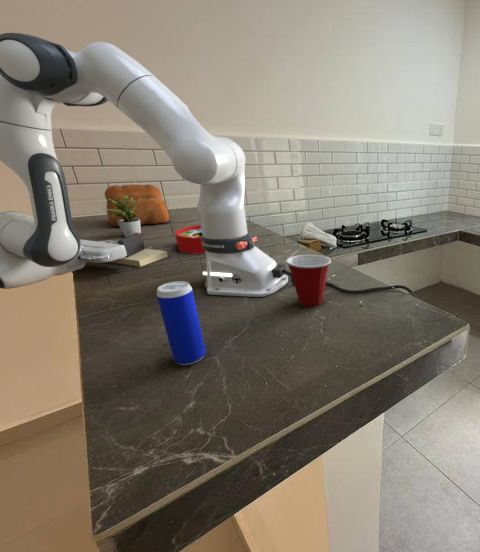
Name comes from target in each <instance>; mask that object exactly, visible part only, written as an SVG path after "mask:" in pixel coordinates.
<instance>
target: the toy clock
mask: <svg viewBox="0 0 480 552" xmlns="http://www.w3.org/2000/svg"><path fill="white" fill-rule="evenodd" d="M174 236H175V239H176V246H177V249H178V251H179V252H181V253H183V254H184V253H185V254H189V255H206V254H205V250H204V249H203V246H202V240H201V236H202V230H201V225H200V224H197V225H192V226H187V227H182V228H180V229H178V230H176V231H175V232H174Z"/></svg>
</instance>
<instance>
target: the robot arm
mask: <svg viewBox="0 0 480 552" xmlns="http://www.w3.org/2000/svg"><path fill="white" fill-rule="evenodd" d="M107 102H110V103H111V104H112V105H114V106H115V108H117V109H118V110H119V111H120V112H122V113H123V114H124V115H125V116H126V117H127V118H129V119H130V120H131V121H132V122H134V124H136V125H137V126H138V127H140V128H141V129H142V130H143V131H144V132H146V134H147V135H148V136H150V137H151V138H152V139H153V140H154V141H155V142H156V143H157V144H158V146H159V147H160V148H161V149H162V150H163V151H164V153H165V154H166V155H167V156H168V158H169V159H170V160H171V163H172V166H173V168H174V170H175V172H176V173H177V174H178V175H179V176H180V177H181V178H182V179H184V180H185V181H187V182H189V183H192V184H196V185H200V186H199V187H200V188H199V198H198V201H197V204H196V205H197V207H196V210H197V213H198V219H199V225H201V230H202V236H201V240H202V246H203V249H204V250H205V254H204V255H205V271H202V275H203V276H205V282H204V287H205V288H206V294H207V295H211V296H229V297H248V298H249V297H250V298H251V297H253V298H262V297H266V296H269V295H272V294H274V293H276V292H278V291H279V290H281V289H282V288H283V287H285V286H286V285H287V283H288V282H289V277H290V282H291V284H292V285H294V281H293V277H292V274H291V271H289V270H287V266H286V265H287V264H282V263H281V264H280V263H279V264H278V263H277V262H276V260H275V259H274V258H272V257H270V256H269V255H268V254H267V253H265V252H264V251H262V250H261V249H260V248H259V247H257V246H256V243H255V242H256V241H258V239H257V238H258V236H254V237H252V235H251V234H250V232H249V231H248V224H247V217H246V208H245V189H246V186H245V185H246V184H245V183H246V181H245V180H246V176H245V174H246V173H245V172H246V171H245V168H246V162H247V158H246V154H245V152H244V150H243V148H242V146H240V145H239V144H238V143H236V142H235V141H234V140H232V139H230V138H229V137H226V136H221V135H213V134H211V133H210V132H208V131H207V130H206V128H204V126H202V124H201V123H200V122H199V121H198V119H196V117H195V116H194V115H193V114H192V112H191V111H190V108H189V106H188V105H187V104H186V103H185V102H184V101H182V99H180V98H179V97H178V96H177V95H176V94H175V93H174V92H173V91H171V90H170V89H169V87H167V85H165V84H164V83H163V82H162V81H161V80H160V79H158V77H156V76H155V75H154V74H153V73H152V72H151V71H150V70H148V69H147V68H146V67H145V66H144V65H142V64H141V63H140V62H139V61H137V60H136V59H135V58H133V57H132V56H131V55H129V54H128V53H126V52H125V51H123V50H122V49H121V48H119V47H118V46H116V45H115V44H112V43H110V42H106V41H92V42H91V43H88V44H87V45H85V46H84V47H83V48H82V49H81V50H79V51H72V50H70V49H68V48H66V47H64V46H63V45H62V44H58V43H56V42H53V41H49V40H46V39H44V38H42V37H39V36H35V35H32V34H26V33H20V32H4V33H1V34H0V162H1V163H2V164H4V165H5V166H7V167H8V168H9V169H10V170H11V171H13V172H14V173H15V174H16V175H17V176H18V177H19V178H20V180H21V181H22V182H23V183H24V185H25V186H26V188H27V189H26V190H27V191H28V195H29V200H30V206H31V211H32V215H30V214H29V215H28V214H26V213H24V212H23V213H22V212H19V211H13V210H12V211H11V210H10V211H2V212H0V289H4V290H10V289H17V288H22V287H26V286H30V285H33V284H37V283H40V282H43V281H46V280H47V279H49V278H51V277H55V276H56V277H57V276H62V275H66V274H69V273H72V272H76V271H77V270H78V271H79V270H82V269H83V268H85V266H86V264H87V262H88V263H95V264H104V263H110V262H109V261H113V260H117V259H121V258H124V257H126V256H127V253H126V249H125V246H124V245H119V244H118V242H117V241H118V240H114V239H109V240H101V241H96V240H88V239H82V238H80V236H79V234H78V232H77V230H76V228H75V225H74V223H73V217H72V212H71V205H70V199H69V192H68V186H67V180H66V175H65V172H64V170H63V166H62V165H61V163H60V161H59V159H58V157H57V154H56V150H55V145H54V139H53V130H52V129H53V125H52V112H53V109H54V108H55V107H56V106H57V105H61V104H63V105H64V106H67V107H97V106H101V105H103V104H106V103H107ZM325 286H328V287H331V288H332V289H333V288H334V289H335V290H337V291H339V292H341V293H346V294H353V295H354V294H365V293H370V292H377V291H378V292H379V291H389V290H393V289H402V290H405V291H407V292H408V293H411V294H412V293H413V290H412V289H411V288H409V287H408V286H405V285H402V284H395V285H390V286H389V285H387V286H379V287H378V286H377V287H370V288H364V289H346V288H342V287H340V286H338V285H336V284H335V283H332V282H329V281H326V283H325ZM392 287H394V288H392Z"/></svg>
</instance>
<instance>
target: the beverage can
mask: <svg viewBox="0 0 480 552" xmlns="http://www.w3.org/2000/svg"><path fill="white" fill-rule="evenodd" d="M156 299H157V302H158V306H159V309H160V313H161V317H162V321H163V325H164V329H165V332H166V336H167V339H168V344H169V348H170V351H171V355H172V358H173V362H174V363H176V364H177V365H179V366H191V365H194V364H196V363H198V362H201V360H202V359H203V358H204V357H205V356H206V354H207V350H206V346H205V341H204V336H203V333H202V332H203V331H202V328H201V322H200V319H199V314H198V309H197V305H196V300H195V295H194V290H193V288H192V286H191V284H190V283H189V282H188V281H186V280H185V281H184V280H179V281H178V280H176V281H175V280H174V281H170V282H166V283H163V284H161V285H159V286H158V287H157V289H156Z"/></svg>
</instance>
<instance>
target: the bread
mask: <svg viewBox="0 0 480 552" xmlns="http://www.w3.org/2000/svg"><path fill="white" fill-rule="evenodd" d="M127 195H128V196H129V197H128V207H130V201H131V198H132V203H133V202H134V199H135V201H136V202H135V204H134V207H135V205H136V204H137V203H138V202H139V201H140V202H139V203H138V204H137V206H136V207H135V209H134V215H137V216H135V218H136V219H140V226H143V225H158V224H166V223H169V221H170V215H169V212H168V211H169V210H168V208H167V207H168V206H167V204H166V202H165V200H164V199H163V197H162V191H161V189H159V187H157V186H155V185H153V184H149V183H148V184H124V185H110V186H109V187H107V188H106V189H105V191H104V199H106V209H115V208H116V209H117V210H119V209H118V207H117V206H116V207H115V204H114V203H113V202H112V201H111V200H113V201H115V202H117V201H116V200H115V198H116V199H118V200H119V201H120V202H121V203H122V204H123V206H124V203H123V200H124V196H125V197H126V196H127ZM107 198H108V199H107ZM109 199H111V200H109ZM108 204H109V205H108ZM111 204H112V205H111ZM110 205H111V206H110ZM113 205H114V206H113ZM112 206H113V207H114V208H113V207H112ZM141 209H146V210H141ZM139 210H140V211H139ZM137 211H138V212H137ZM110 212H111V213H110ZM136 212H137V213H136ZM112 213H113V214H116V213H115V212H112V211H110V210H106V214H107V217H108V216H109V215H111V216H112ZM135 213H136V214H135ZM118 214H119V213H118ZM120 214H122V213H120ZM122 215H123V214H122ZM111 216H109V217H108V218H107V219H108V221H109V224H110V225H111V226H112V227H116V228H120V226H119V224H118V222H117V221H118V220H122V219H123V218H122V217H121V218H122V219H121V218H120V216H119V217H118V215H117V216H116V215H115V216H113V217H112V218H111ZM123 216H124V215H123Z"/></svg>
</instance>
